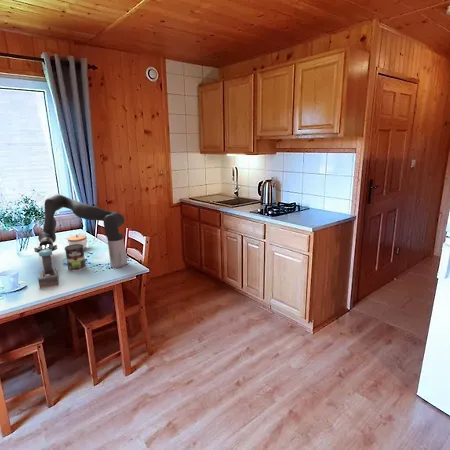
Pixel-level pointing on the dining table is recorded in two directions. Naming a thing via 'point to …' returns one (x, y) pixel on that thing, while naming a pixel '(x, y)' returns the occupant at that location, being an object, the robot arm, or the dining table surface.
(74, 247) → the coffee can
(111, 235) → the robot arm
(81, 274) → the dining table surface
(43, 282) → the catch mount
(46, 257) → the knob
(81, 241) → the lidded bowl
